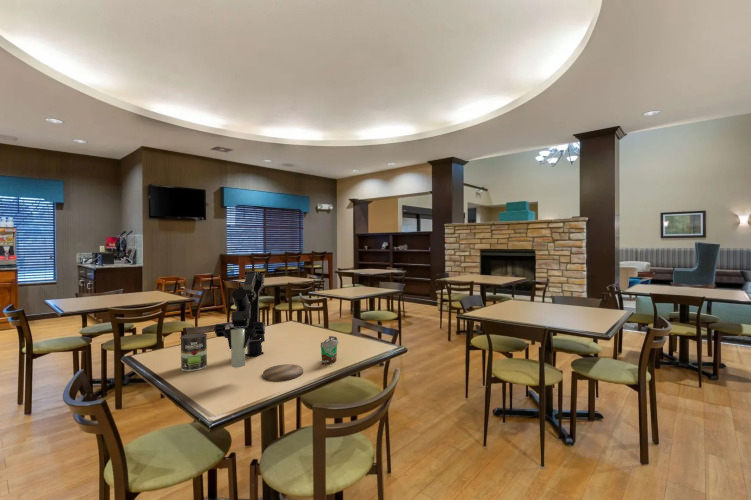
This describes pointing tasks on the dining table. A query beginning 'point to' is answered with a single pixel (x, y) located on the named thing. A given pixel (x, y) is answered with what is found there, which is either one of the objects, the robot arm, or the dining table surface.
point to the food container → (329, 350)
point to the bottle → (238, 347)
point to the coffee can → (193, 351)
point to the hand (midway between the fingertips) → (237, 348)
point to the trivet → (283, 372)
